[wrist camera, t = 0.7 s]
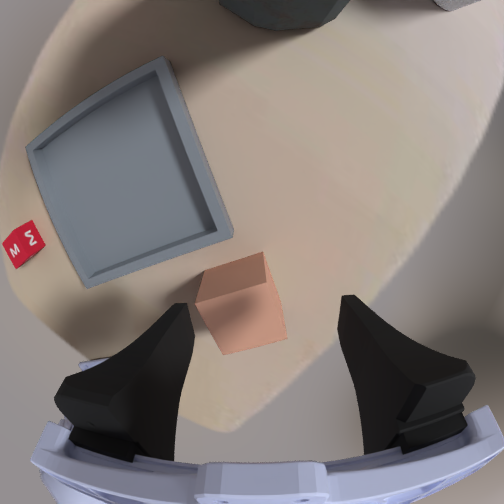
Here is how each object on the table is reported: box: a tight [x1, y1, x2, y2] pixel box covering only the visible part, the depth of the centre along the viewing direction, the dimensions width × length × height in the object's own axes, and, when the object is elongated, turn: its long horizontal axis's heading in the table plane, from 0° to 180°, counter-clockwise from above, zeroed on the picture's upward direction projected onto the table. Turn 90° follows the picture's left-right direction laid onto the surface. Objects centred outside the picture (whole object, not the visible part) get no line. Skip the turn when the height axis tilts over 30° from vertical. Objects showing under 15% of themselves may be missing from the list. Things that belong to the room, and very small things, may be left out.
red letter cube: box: [2, 220, 46, 269], centre depth 20 cm, size 3×3×3 cm
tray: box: [25, 56, 234, 289], centre depth 19 cm, size 14×14×2 cm
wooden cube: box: [195, 252, 287, 355], centre depth 21 cm, size 5×5×5 cm
